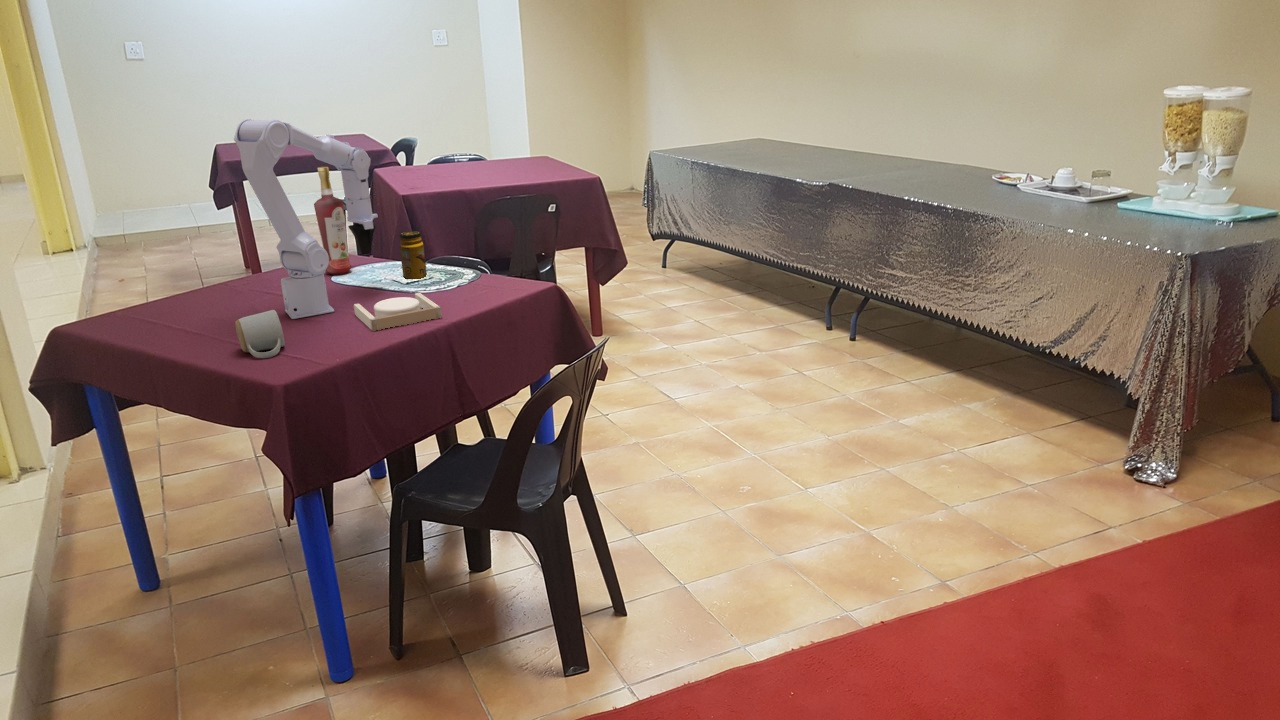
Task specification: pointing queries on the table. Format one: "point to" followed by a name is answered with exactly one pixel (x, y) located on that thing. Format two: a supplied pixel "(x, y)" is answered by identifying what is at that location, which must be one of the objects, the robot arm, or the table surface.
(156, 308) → the table surface
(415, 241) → the condiment
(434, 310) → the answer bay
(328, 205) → the liquor
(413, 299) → the coaster
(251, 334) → the ceramic mug
